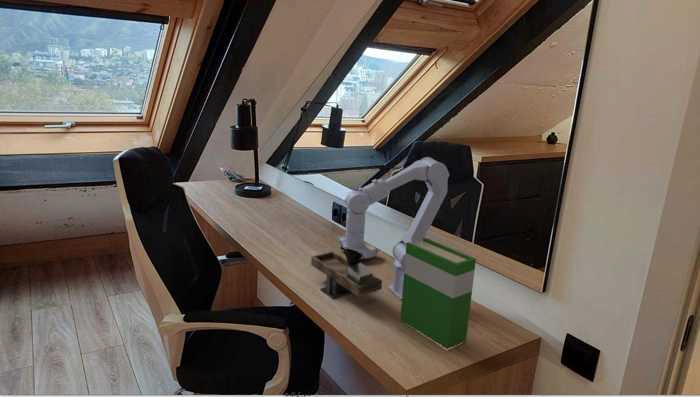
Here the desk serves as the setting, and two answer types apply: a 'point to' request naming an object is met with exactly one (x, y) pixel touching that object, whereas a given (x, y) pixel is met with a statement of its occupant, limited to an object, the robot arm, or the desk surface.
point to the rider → (359, 274)
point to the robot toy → (374, 250)
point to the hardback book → (437, 291)
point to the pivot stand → (334, 289)
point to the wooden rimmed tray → (343, 273)
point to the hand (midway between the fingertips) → (352, 271)
